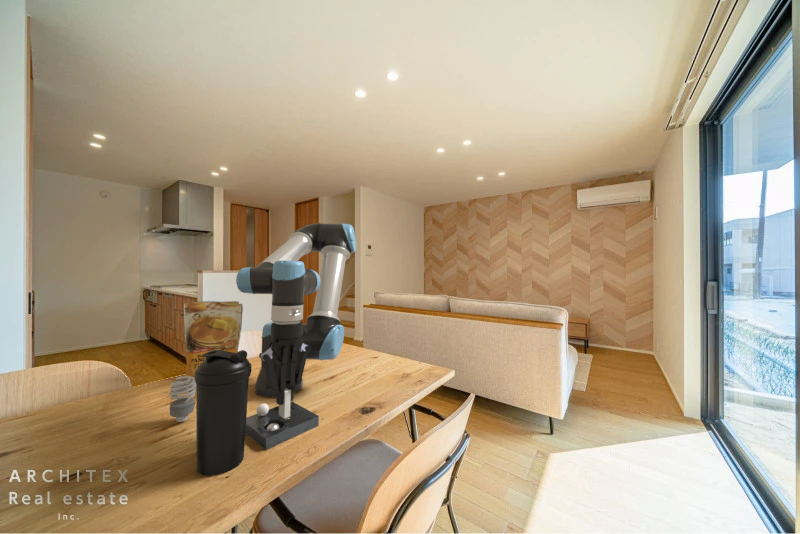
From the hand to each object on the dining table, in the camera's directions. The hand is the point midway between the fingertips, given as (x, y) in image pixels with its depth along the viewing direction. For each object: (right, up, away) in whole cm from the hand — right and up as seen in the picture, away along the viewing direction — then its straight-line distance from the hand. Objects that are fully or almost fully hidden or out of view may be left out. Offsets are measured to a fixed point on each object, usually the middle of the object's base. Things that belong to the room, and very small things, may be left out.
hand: (284, 415), depth 73 cm
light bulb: (-28, -4, +3) cm, 29 cm away
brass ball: (-3, 0, +8) cm, 8 cm away
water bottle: (-9, -4, -12) cm, 15 cm away
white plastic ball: (-7, 0, +3) cm, 7 cm away
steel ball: (-2, -2, -2) cm, 4 cm away
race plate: (-2, -4, +2) cm, 5 cm away
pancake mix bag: (-42, -4, +36) cm, 55 cm away
